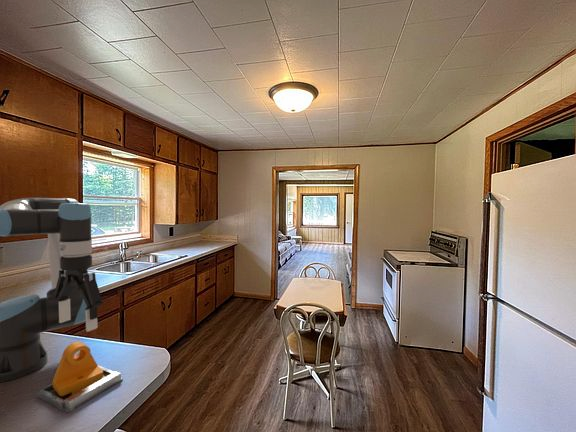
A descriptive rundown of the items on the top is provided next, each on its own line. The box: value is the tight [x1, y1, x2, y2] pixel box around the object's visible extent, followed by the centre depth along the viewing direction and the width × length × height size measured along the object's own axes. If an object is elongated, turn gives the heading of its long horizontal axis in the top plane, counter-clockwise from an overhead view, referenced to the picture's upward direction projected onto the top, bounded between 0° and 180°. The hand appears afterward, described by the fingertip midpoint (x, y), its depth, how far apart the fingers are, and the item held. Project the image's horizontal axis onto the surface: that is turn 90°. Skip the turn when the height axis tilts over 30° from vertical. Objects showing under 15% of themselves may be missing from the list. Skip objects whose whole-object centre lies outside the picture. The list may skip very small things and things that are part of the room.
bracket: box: [52, 341, 103, 396], centre depth 82 cm, size 11×7×12 cm, turn 144°
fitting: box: [36, 364, 124, 414], centre depth 81 cm, size 15×15×2 cm
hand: (77, 325), depth 82 cm, fingers open, 13 cm apart
